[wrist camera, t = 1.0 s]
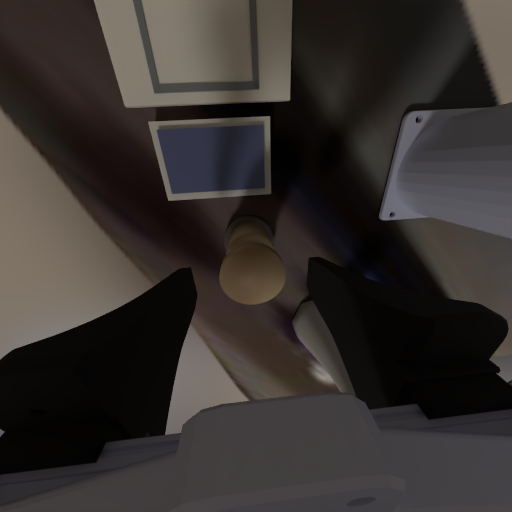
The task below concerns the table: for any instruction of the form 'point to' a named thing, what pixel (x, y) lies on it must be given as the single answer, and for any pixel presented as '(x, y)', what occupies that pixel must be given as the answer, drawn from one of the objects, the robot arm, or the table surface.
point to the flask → (321, 344)
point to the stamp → (251, 262)
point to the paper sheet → (199, 50)
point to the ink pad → (214, 157)
